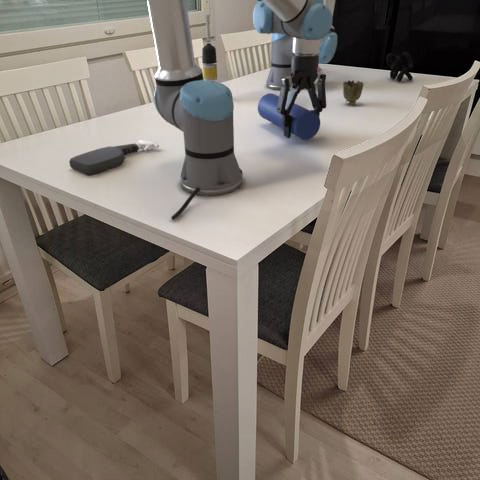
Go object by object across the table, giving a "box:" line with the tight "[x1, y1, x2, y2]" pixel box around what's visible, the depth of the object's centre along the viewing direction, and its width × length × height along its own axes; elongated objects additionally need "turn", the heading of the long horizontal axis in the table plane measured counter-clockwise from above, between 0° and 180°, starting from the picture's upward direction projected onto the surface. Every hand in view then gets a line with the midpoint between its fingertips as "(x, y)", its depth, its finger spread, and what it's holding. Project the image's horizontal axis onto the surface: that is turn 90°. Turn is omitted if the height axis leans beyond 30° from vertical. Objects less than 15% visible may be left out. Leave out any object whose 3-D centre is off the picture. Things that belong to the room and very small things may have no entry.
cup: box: [342, 80, 365, 106], centre depth 166 cm, size 8×7×8 cm
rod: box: [257, 92, 321, 141], centre depth 138 cm, size 24×8×8 cm, turn 25°
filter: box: [201, 14, 218, 82], centre depth 171 cm, size 6×6×30 cm
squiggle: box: [385, 51, 414, 83], centre depth 198 cm, size 11×10×15 cm
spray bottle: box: [68, 139, 160, 177], centre depth 124 cm, size 3×11×24 cm
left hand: (299, 134), depth 134 cm, fingers closed on rod, 8 cm apart
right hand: (280, 21), depth 147 cm, fingers open, 13 cm apart
